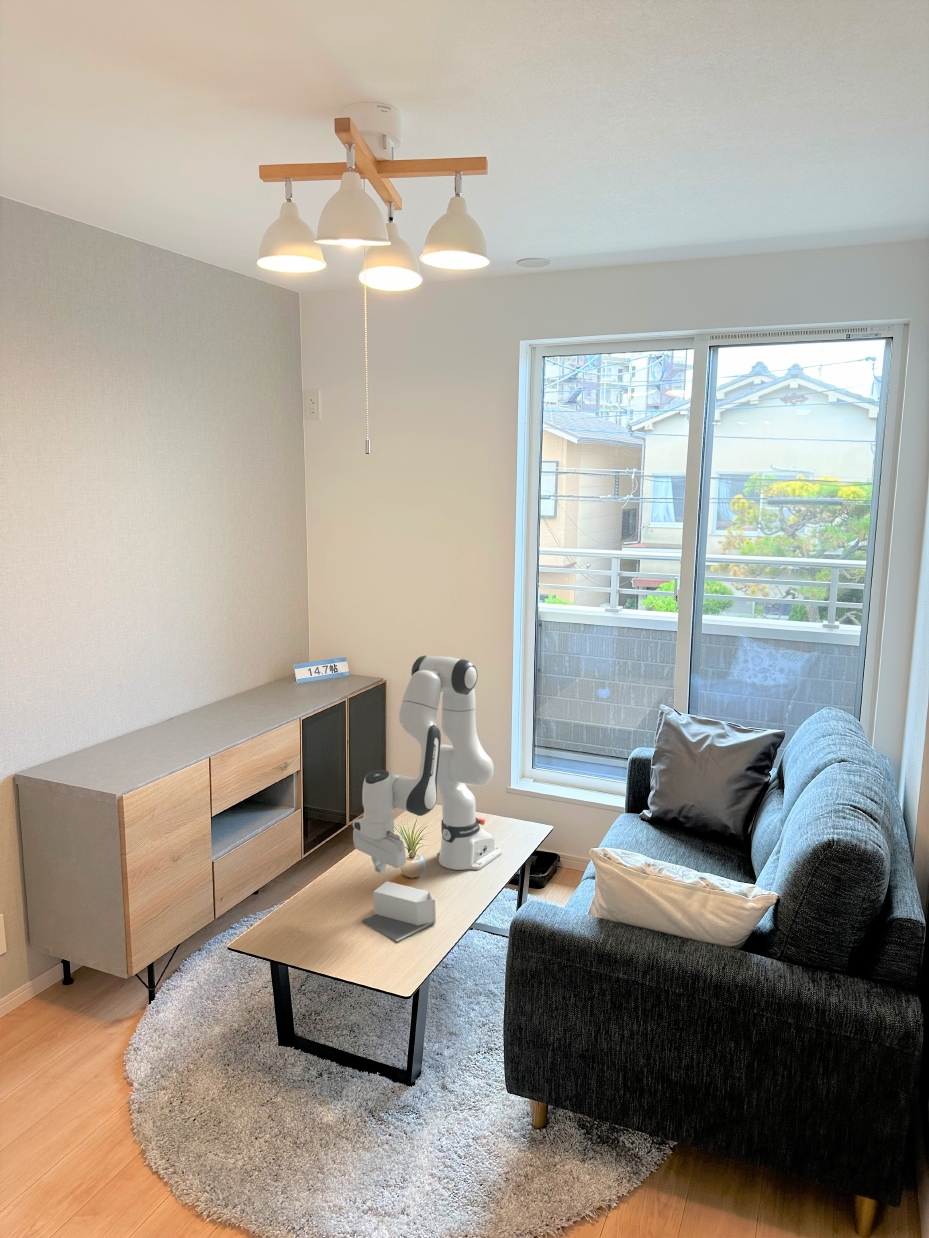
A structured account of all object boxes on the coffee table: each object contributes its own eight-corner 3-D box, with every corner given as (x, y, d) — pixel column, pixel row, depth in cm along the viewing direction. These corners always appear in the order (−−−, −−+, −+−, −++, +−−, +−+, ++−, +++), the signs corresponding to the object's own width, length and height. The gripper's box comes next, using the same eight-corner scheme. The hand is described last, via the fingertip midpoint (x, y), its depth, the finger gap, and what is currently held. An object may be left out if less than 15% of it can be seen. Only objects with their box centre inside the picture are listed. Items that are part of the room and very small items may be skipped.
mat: (398, 904, 249) (398, 902, 249) (434, 923, 238) (434, 921, 238) (361, 921, 239) (361, 920, 239) (397, 942, 228) (397, 941, 228)
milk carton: (373, 913, 243) (429, 928, 234) (372, 891, 242) (428, 905, 233) (387, 902, 249) (441, 917, 240) (386, 880, 248) (441, 894, 239)
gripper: (410, 834, 234) (411, 879, 237) (365, 814, 249) (367, 857, 251) (393, 840, 230) (394, 887, 232) (348, 820, 244) (350, 864, 247)
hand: (380, 871), depth 242 cm, fingers closed
